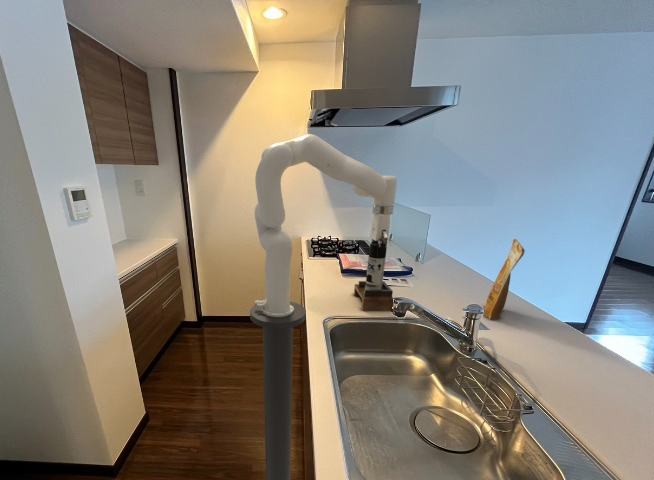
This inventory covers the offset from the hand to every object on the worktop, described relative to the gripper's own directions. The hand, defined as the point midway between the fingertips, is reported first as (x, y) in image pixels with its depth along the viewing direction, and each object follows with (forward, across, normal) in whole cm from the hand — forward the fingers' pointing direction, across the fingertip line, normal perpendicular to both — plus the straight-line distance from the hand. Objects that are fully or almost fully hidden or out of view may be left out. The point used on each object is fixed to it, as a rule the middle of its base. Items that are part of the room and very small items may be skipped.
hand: (377, 254), depth 128 cm
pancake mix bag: (+21, +10, +45) cm, 51 cm away
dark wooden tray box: (+21, 0, 0) cm, 21 cm away
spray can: (+16, 0, 0) cm, 16 cm away
